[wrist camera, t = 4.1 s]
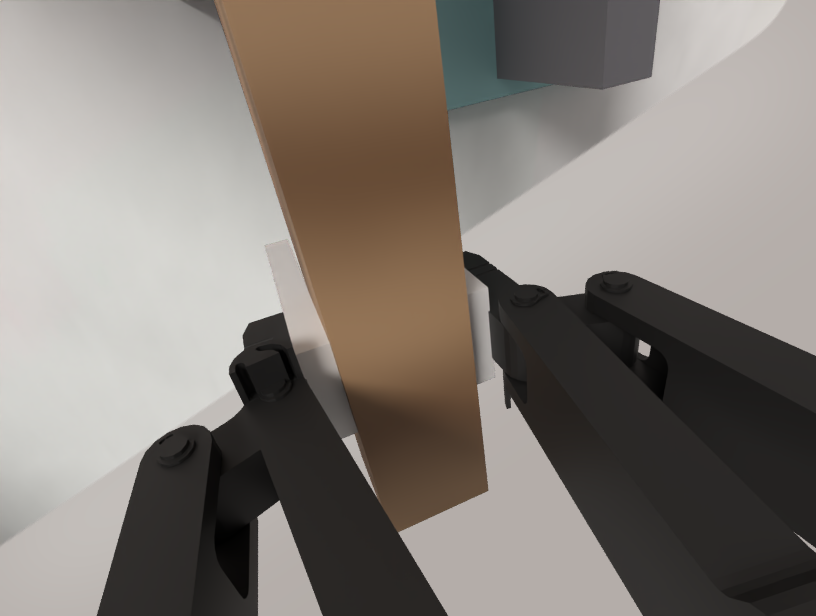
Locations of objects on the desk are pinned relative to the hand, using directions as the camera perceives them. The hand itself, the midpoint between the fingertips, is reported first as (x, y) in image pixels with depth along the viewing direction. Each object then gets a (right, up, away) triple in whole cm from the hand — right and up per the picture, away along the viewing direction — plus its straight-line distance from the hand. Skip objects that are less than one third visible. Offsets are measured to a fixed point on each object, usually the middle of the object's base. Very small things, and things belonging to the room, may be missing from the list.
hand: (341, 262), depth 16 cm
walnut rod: (0, +7, -9) cm, 12 cm away
